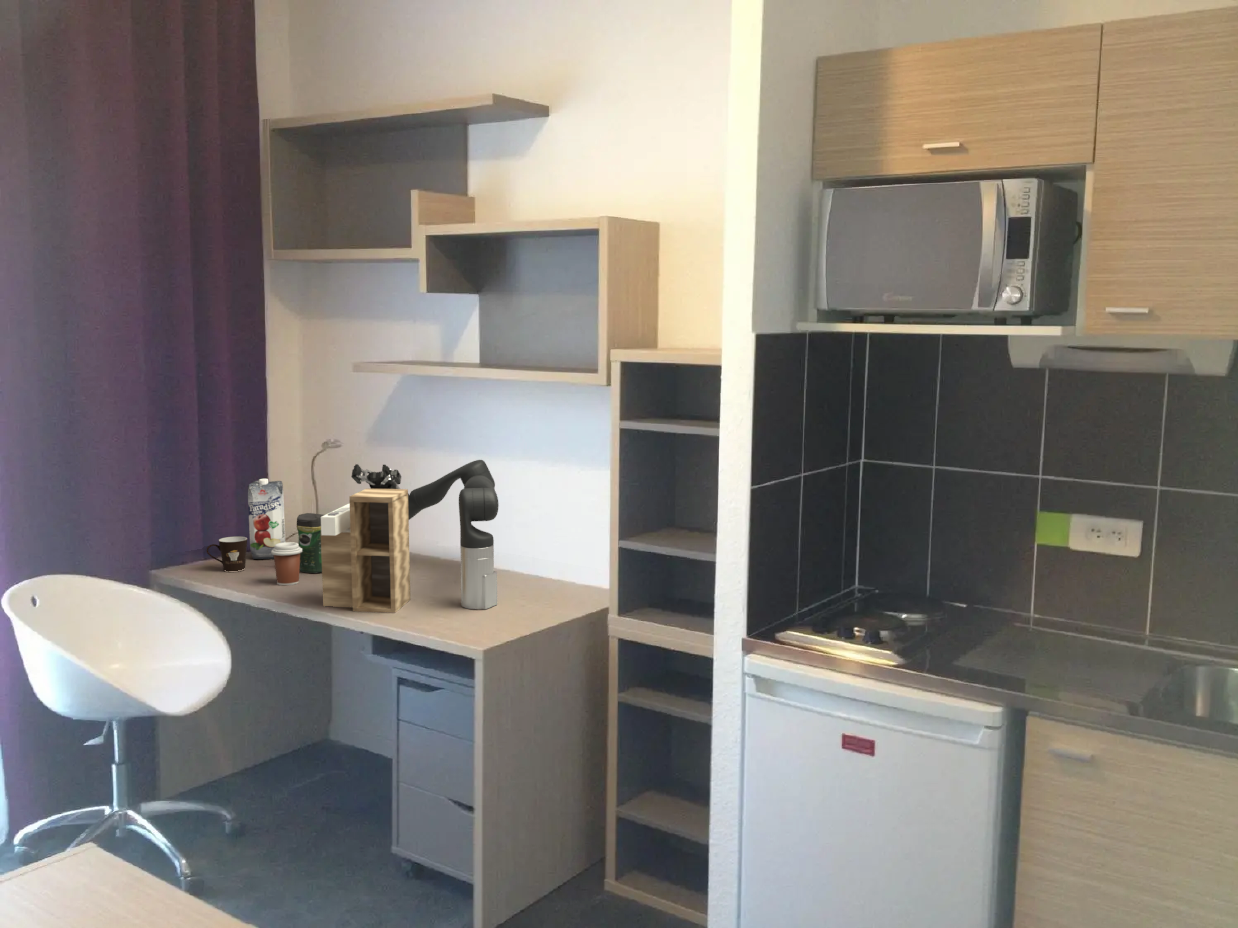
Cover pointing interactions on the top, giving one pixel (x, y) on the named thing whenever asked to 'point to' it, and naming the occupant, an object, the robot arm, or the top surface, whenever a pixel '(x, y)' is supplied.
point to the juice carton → (265, 517)
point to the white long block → (336, 521)
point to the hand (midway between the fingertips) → (369, 467)
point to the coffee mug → (232, 552)
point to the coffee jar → (310, 542)
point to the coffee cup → (287, 562)
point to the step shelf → (369, 554)
